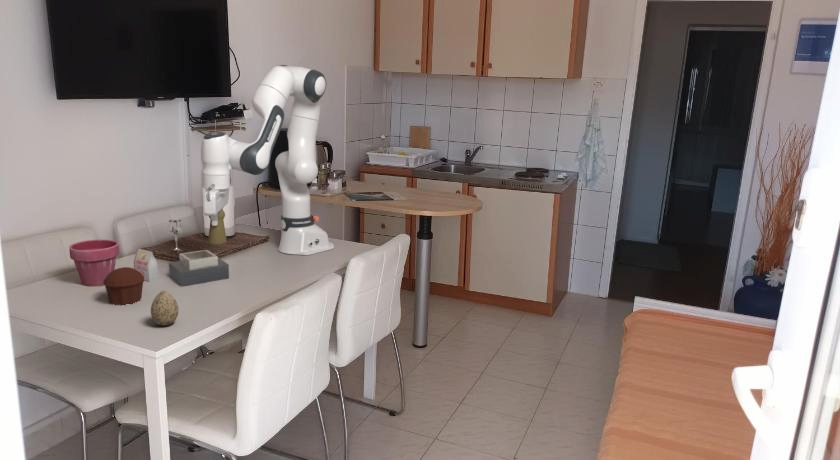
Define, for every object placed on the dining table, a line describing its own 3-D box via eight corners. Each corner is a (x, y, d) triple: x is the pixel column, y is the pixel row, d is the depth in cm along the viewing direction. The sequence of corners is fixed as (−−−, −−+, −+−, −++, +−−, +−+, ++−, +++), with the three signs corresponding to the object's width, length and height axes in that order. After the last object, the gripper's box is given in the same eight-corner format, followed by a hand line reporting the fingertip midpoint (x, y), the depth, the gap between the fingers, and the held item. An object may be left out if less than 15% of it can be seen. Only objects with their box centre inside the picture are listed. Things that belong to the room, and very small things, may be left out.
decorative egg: (152, 331, 168) (149, 297, 166) (151, 321, 175) (148, 288, 172) (180, 327, 171) (178, 294, 169) (178, 318, 178) (176, 285, 175)
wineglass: (173, 248, 244) (172, 218, 241) (187, 249, 243) (186, 219, 240) (166, 252, 238) (164, 222, 235) (180, 253, 237) (178, 223, 234)
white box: (143, 275, 212) (141, 247, 209) (158, 279, 209) (156, 250, 206) (134, 278, 208) (132, 250, 206) (149, 282, 206) (147, 253, 203)
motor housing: (215, 268, 221) (214, 247, 219) (229, 278, 212) (228, 256, 210) (169, 276, 211) (168, 254, 209) (181, 286, 202) (180, 263, 200)
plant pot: (99, 272, 212) (96, 236, 209) (131, 278, 208) (128, 242, 205) (62, 284, 200) (58, 246, 196) (95, 291, 195) (91, 253, 192)
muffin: (117, 292, 195) (115, 262, 193) (152, 294, 195) (150, 264, 192) (97, 306, 183) (94, 274, 181) (134, 308, 183) (131, 276, 181)
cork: (229, 239, 211) (228, 208, 208) (223, 244, 205) (222, 212, 202) (212, 238, 211) (211, 207, 209) (205, 243, 205) (204, 210, 203)
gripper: (218, 188, 194) (219, 231, 197) (232, 177, 213) (232, 216, 217) (198, 187, 193) (199, 230, 196) (213, 176, 213) (214, 215, 216)
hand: (217, 223), depth 207 cm, fingers closed on cork, 4 cm apart
